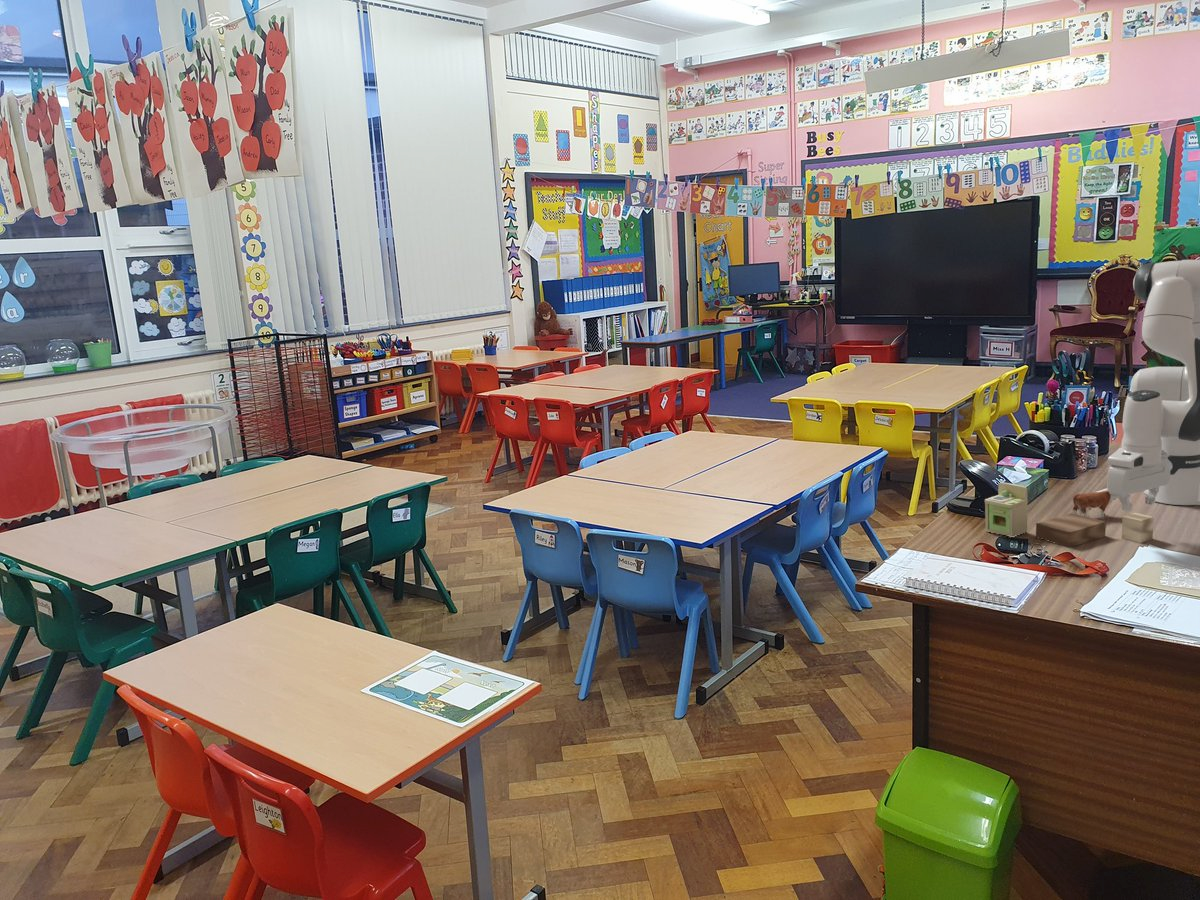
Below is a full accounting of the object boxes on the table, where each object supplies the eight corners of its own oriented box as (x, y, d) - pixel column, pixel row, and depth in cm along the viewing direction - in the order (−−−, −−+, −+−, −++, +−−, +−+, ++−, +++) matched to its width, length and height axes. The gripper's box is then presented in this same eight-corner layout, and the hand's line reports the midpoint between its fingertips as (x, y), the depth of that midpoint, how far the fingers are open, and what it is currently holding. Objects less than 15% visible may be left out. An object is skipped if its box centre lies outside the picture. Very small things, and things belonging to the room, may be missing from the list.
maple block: (1133, 534, 236) (1134, 512, 235) (1152, 539, 231) (1153, 517, 230) (1121, 538, 234) (1122, 516, 232) (1140, 543, 229) (1141, 520, 228)
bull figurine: (1124, 516, 250) (1125, 488, 248) (1075, 520, 250) (1076, 492, 249) (1115, 512, 254) (1116, 484, 252) (1067, 515, 255) (1068, 488, 253)
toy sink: (983, 532, 247) (983, 486, 244) (999, 526, 251) (1000, 481, 248) (1010, 539, 240) (1011, 492, 237) (1027, 532, 244) (1028, 486, 241)
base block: (1071, 527, 245) (1071, 513, 244) (1105, 535, 236) (1105, 521, 235) (1035, 537, 239) (1036, 523, 238) (1069, 547, 230) (1070, 532, 230)
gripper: (1154, 446, 235) (1151, 497, 237) (1103, 458, 226) (1101, 511, 229) (1178, 450, 229) (1175, 502, 232) (1127, 462, 221) (1124, 516, 223)
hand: (1138, 506), depth 230 cm, fingers open, 8 cm apart
